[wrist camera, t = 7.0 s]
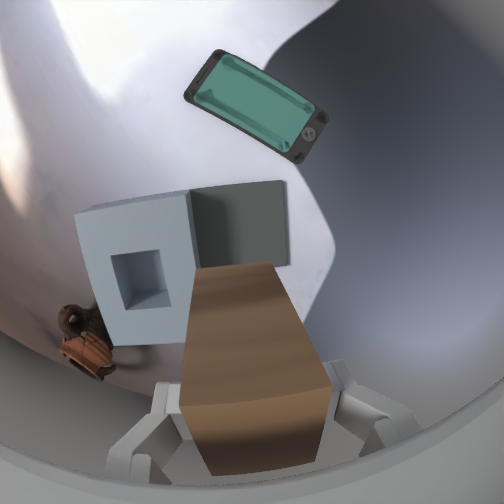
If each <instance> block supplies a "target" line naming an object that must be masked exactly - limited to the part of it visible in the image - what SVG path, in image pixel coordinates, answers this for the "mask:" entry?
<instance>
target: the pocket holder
mask: <svg viewBox="0 0 504 504" xmlns="http://www.w3.org/2000/svg"><path fill="white" fill-rule="evenodd" d="M74 218H75V223H76V227H77V232H78V237H79V241H80V245H81V249H82V253H83V257H84V261H85V264H86V268H87V272H88V275H89V278H90V282H91V285H92V288H93V291H94V294H95V297H96V300H97V303H98V306H99V309H100V312H101V315H102V317H103V320H104V323H105V325H106V328H107V331H108V333H109V336H110V338H111V340H112V343H113V345H114V346H121V345H148V344H166V343H180V342H185V340H186V332H187V325H188V317H189V310H190V303H191V297H192V290H193V284H194V277H195V271H196V269H199V268H201V265H200V259H199V253H198V246H197V239H196V232H195V225H194V218H193V210H192V203H191V195H190V190H182V191H175V192H169V193H162V194H156V195H149V196H143V197H137V198H132V199H126V200H121V201H115V202H110V203H105V204H100V205H95V206H92V207H90V208H87V209H85V210H83V211H81V212H79V213H77V214H74Z"/></svg>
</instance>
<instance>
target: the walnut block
mask: <svg viewBox="0 0 504 504" xmlns="http://www.w3.org/2000/svg"><path fill="white" fill-rule="evenodd" d="M332 387H333V385H332V383H331V381H330V379H329V377H328V375H327V373H326V371H325V369H324V367H323V364H322V363H321V360H320V359H319V357H318V354H317V352H316V350H315V348H314V346H313V344H312V342H311V340H310V338H309V336H308V334H307V332H306V330H305V328H304V326H303V324H302V322H301V320H300V318H299V316H298V314H297V312H296V310H295V308H294V306H293V304H292V302H291V300H290V298H289V296H288V294H287V292H286V290H285V288H284V286H283V284H282V282H281V280H280V278H279V276H278V274H277V272H276V271H275V269H274V267H273V265H272V263H271V261H264V262H255V263H246V264H237V265H227V266H218V267H209V268H199V269H196V271H195V277H194V284H193V290H192V297H191V303H190V310H189V317H188V325H187V332H186V340H185V348H184V357H183V366H182V375H181V385H180V395H179V409H180V411H181V413H182V416H183V418H184V420H185V422H186V425H187V427H188V429H189V431H190V433H191V435H192V438H193V440H194V441H195V444H196V446H197V448H198V450H199V452H200V454H201V456H202V458H203V460H204V462H205V463H206V465H207V467H208V469H209V471H210V473H211V475H212V476H223V475H237V474H247V473H255V472H263V471H270V470H276V469H282V468H287V467H292V466H297V465H302V464H306V463H311V462H314V461H315V458H316V455H317V451H318V448H319V444H320V440H321V436H322V432H323V428H324V424H325V420H326V415H327V411H328V406H329V402H330V397H331V392H332Z"/></svg>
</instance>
